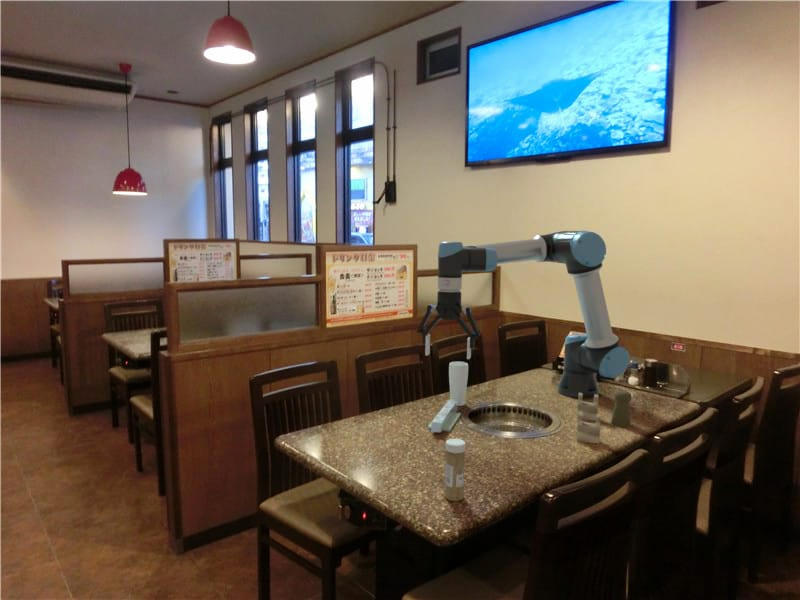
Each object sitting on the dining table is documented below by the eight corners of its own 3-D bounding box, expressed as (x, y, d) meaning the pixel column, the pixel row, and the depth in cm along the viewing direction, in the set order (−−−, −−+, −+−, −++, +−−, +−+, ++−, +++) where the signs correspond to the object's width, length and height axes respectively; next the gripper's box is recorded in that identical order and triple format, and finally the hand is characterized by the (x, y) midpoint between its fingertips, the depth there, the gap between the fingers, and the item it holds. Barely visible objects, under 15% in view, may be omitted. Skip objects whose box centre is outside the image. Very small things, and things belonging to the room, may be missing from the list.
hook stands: (577, 415, 181) (578, 392, 180) (596, 417, 179) (598, 394, 178) (576, 441, 159) (578, 415, 158) (599, 443, 157) (600, 417, 156)
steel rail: (448, 407, 185) (449, 399, 185) (457, 408, 184) (457, 400, 184) (431, 431, 162) (431, 422, 162) (440, 432, 161) (440, 423, 161)
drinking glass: (462, 400, 195) (463, 360, 194) (470, 406, 189) (471, 365, 187) (445, 402, 193) (446, 362, 191) (452, 408, 187) (453, 366, 185)
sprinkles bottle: (465, 501, 122) (467, 445, 120) (445, 502, 121) (447, 445, 120) (462, 492, 126) (463, 437, 124) (442, 492, 126) (444, 437, 124)
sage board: (440, 412, 182) (440, 410, 182) (460, 415, 180) (460, 412, 180) (427, 428, 167) (428, 426, 167) (449, 431, 165) (449, 429, 165)
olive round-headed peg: (632, 428, 170) (635, 394, 169) (612, 426, 171) (615, 393, 170) (628, 421, 176) (631, 389, 175) (609, 420, 177) (611, 388, 176)
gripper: (408, 290, 169) (407, 355, 171) (486, 293, 161) (484, 362, 163) (415, 287, 176) (414, 350, 178) (490, 291, 168) (488, 357, 170)
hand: (447, 356), depth 171 cm, fingers open, 13 cm apart
